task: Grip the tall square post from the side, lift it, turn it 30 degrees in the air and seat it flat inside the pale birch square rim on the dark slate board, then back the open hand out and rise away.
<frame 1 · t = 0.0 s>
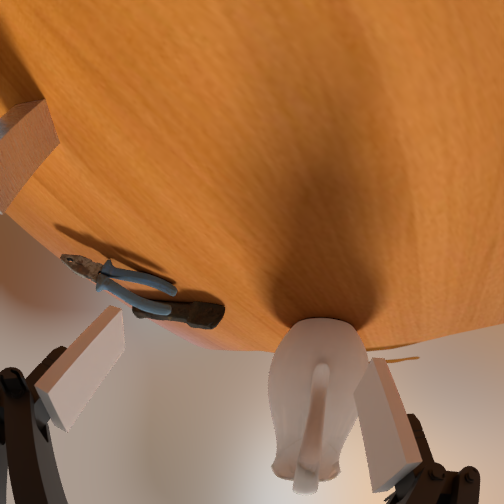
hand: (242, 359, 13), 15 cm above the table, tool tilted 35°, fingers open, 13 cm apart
pliers: (122, 262, 42), on the table
pitcher: (325, 320, 46), on the table
tall square post: (36, 123, 21), on the table
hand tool: (177, 299, 50), on the table
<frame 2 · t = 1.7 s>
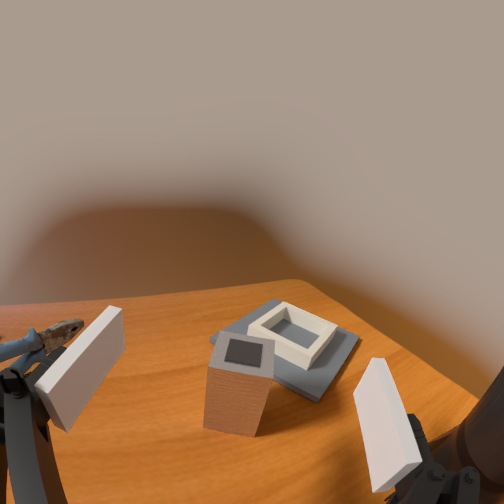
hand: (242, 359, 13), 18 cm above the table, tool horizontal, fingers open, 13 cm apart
pliers: (33, 371, 26), on the table
tall square post: (232, 414, 29), on the table
cradle: (290, 343, 43), on the table
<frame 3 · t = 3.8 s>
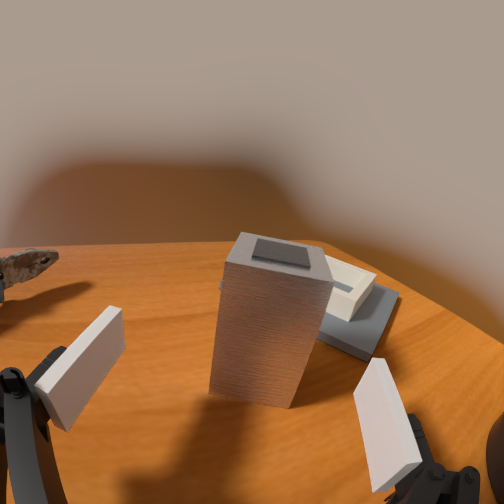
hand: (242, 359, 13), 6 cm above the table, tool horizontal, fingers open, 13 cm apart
tall square post: (252, 376, 20), on the table
cradle: (321, 295, 35), on the table
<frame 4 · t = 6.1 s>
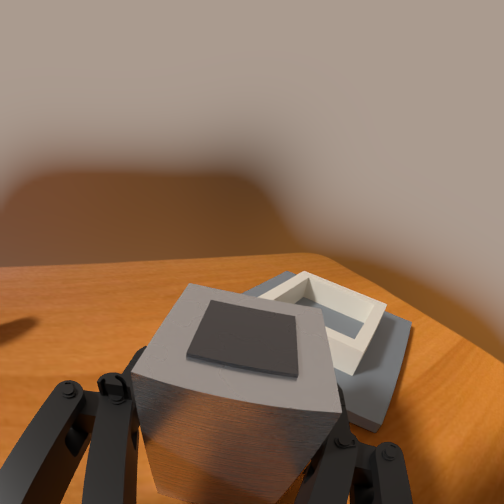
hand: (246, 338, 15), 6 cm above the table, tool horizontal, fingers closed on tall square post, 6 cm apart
tall square post: (219, 467, 12), on the table, touching gripper
cradle: (318, 333, 27), on the table
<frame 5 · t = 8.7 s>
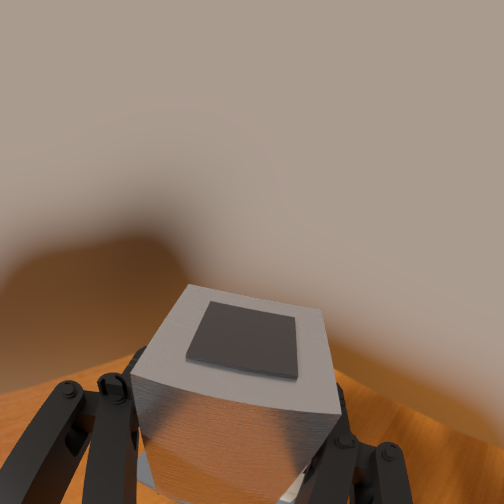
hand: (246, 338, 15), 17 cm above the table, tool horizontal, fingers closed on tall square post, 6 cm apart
tall square post: (219, 467, 12), point 11 cm above the table, touching gripper
cradle: (252, 450, 24), on the table
when the fingers open (9 cm above the table, at t = 11.4 s): tall square post drops 1 cm, resting on cradle.
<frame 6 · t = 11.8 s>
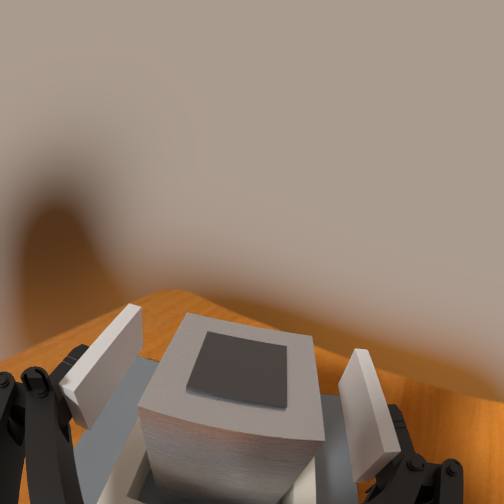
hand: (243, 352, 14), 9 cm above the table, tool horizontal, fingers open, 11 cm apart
tall square post: (218, 476, 13), point 1 cm above the table, touching cradle
cradle: (216, 481, 13), on the table
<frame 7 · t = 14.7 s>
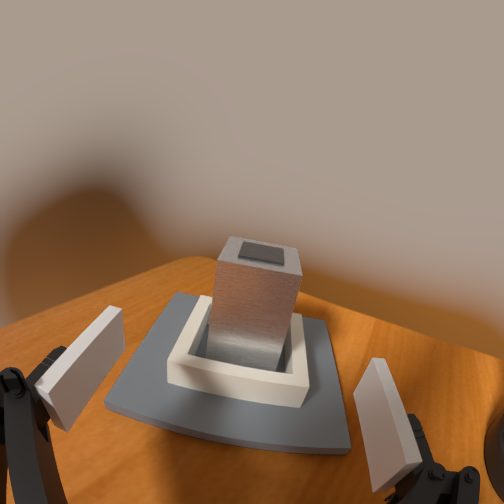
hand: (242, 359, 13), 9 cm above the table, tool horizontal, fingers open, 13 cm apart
tall square post: (241, 356, 24), point 1 cm above the table, touching cradle
cradle: (239, 364, 25), on the table
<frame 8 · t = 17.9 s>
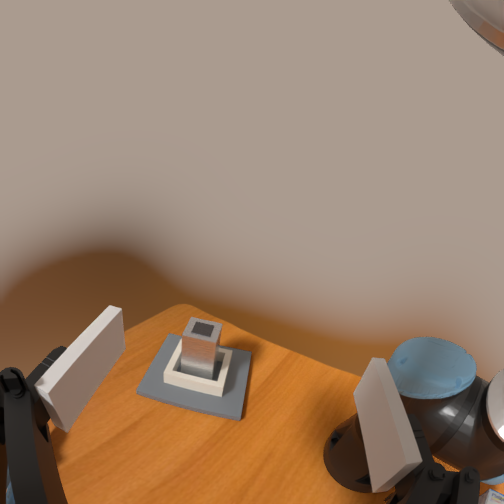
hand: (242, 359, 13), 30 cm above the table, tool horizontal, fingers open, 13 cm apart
pliers: (25, 476, 18), on the table
tall square post: (199, 371, 49), point 1 cm above the table, touching cradle
cradle: (198, 374, 49), on the table
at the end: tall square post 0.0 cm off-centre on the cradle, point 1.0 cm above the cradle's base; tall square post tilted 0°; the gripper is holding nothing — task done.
